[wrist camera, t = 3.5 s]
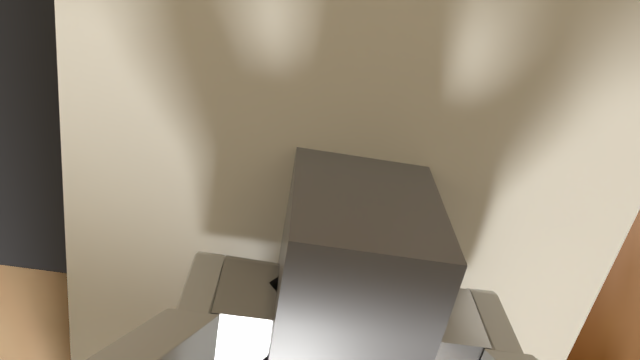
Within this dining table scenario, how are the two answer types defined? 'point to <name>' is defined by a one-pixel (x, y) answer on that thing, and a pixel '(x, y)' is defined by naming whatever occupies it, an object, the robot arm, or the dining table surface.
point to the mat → (30, 139)
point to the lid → (349, 162)
